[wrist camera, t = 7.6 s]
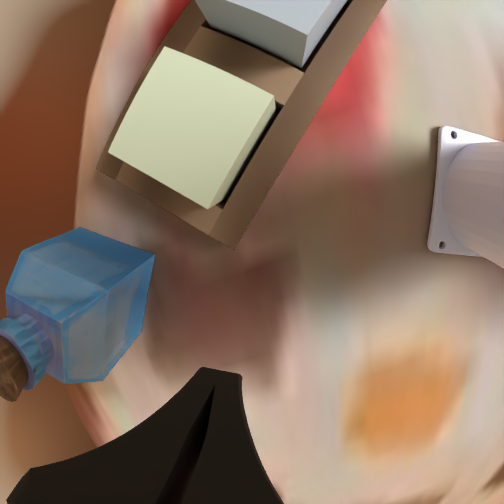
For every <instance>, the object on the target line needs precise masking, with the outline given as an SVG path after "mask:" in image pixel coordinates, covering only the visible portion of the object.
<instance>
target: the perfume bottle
mask: <svg viewBox="0 0 504 504" xmlns="http://www.w3.org/2000/svg"><path fill="white" fill-rule="evenodd" d="M154 258H155V254H153V253H150V252H147V251H144V250H141V249H139V248H136V247H133V246H130V245H127V244H125V243H122V242H119V241H116V240H114V239H111V238H108V237H105V236H103V235H100V234H97V233H94V232H92V231H89V230H86V229H84V228H81V227H79V228H77V229H74V230H71V231H69V232H66V233H64V234H61V235H59V236H56V237H54V238H51V239H48V240H46V241H44V242H41V243H39V244H36V245H34V246H31V247H29V248H27V249H25V250H22V252H21V254H20V256H19V259H18V261H17V263H16V266H15V268H14V270H13V273H12V275H11V278H10V280H9V283H8V286H7V288H6V304H7V315H8V318H3V319H2V320H0V396H1V397H3V398H4V399H6V400H8V401H11V402H13V401H16V400H17V398H18V396H19V395H20V392H21V391H22V389H25V390H30V389H32V388H33V387H34V386H35V385H36V384H37V383H38V382H39V381H40V380H41V379H42V378H43V376H44V375H45V373H47V374H48V375H50V376H52V377H54V378H55V379H57V380H59V381H61V382H62V383H64V384H72V383H85V382H95V381H103V380H104V378H105V377H106V376H107V375H108V373H109V372H110V371H111V369H112V368H113V367H114V366H115V364H116V363H117V362H118V361H119V359H120V358H121V357H122V355H123V354H124V353H125V352H126V350H127V349H128V348H129V347H130V345H131V344H132V343H133V342H134V340H135V339H136V338H137V337H138V335H139V334H140V333H141V332H142V325H143V319H144V313H145V307H146V301H147V295H148V290H149V284H150V279H151V274H152V268H153V263H154Z"/></svg>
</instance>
